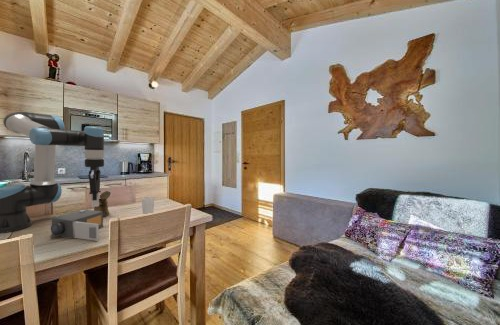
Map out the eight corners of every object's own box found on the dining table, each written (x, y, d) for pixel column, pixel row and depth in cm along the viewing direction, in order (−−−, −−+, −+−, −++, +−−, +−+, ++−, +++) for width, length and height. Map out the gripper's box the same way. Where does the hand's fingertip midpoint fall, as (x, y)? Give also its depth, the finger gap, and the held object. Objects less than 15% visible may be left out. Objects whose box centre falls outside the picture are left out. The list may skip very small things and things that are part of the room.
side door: (75, 236, 103) (74, 221, 102) (98, 239, 100) (98, 223, 99) (71, 238, 101) (70, 222, 101) (95, 241, 98) (95, 225, 98)
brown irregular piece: (99, 220, 128) (98, 192, 127) (90, 216, 135) (89, 189, 134) (114, 216, 135) (114, 190, 134) (105, 213, 143) (105, 187, 142)
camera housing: (46, 237, 103) (45, 218, 102) (84, 224, 121) (83, 208, 120) (66, 240, 99) (66, 220, 99) (103, 227, 117) (102, 210, 117)
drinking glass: (146, 223, 124) (145, 199, 123) (139, 221, 128) (139, 197, 127) (156, 220, 130) (156, 197, 129) (150, 218, 133) (149, 195, 133)
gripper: (88, 157, 104) (89, 203, 105) (80, 159, 92) (82, 210, 94) (106, 158, 107) (106, 202, 109) (101, 159, 95) (102, 209, 97)
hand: (95, 206), depth 101 cm, fingers closed
